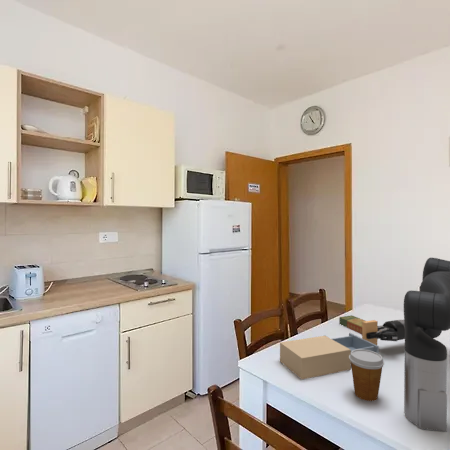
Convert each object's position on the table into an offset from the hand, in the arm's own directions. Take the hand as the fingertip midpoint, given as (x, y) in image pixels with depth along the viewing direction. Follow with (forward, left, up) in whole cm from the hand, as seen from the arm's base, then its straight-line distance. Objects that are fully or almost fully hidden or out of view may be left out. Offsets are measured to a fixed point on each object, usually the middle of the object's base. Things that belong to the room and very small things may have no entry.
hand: (364, 335), depth 118 cm
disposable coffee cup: (-29, +7, -8) cm, 31 cm away
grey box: (-4, +7, -7) cm, 11 cm away
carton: (+32, -5, -9) cm, 34 cm away
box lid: (-12, +20, -8) cm, 25 cm away
